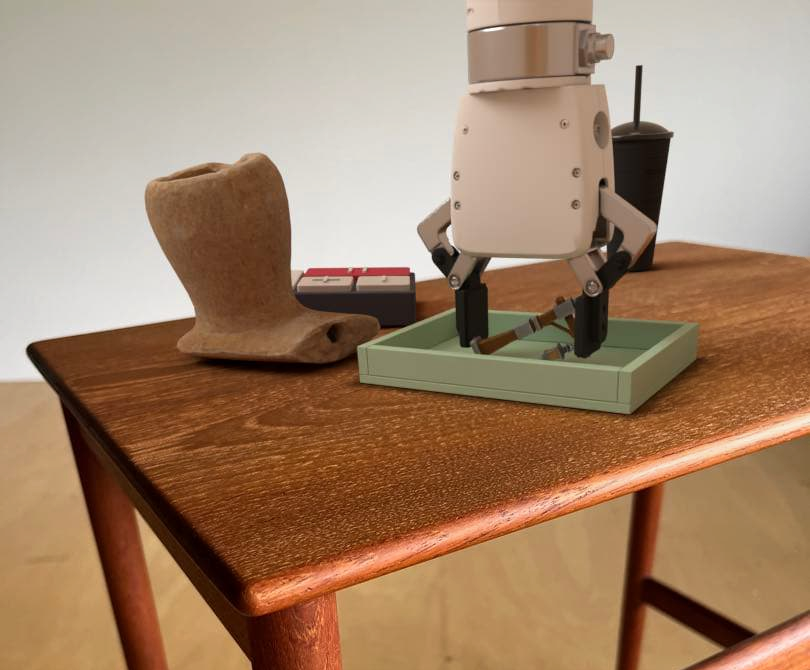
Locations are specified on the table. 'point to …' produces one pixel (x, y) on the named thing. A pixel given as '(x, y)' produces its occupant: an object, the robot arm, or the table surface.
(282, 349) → the boot-shaped pottery piece
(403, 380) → the tray
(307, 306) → the dark box with panels
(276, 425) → the table surface
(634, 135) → the drinking cup
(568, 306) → the wooden post with brackets
